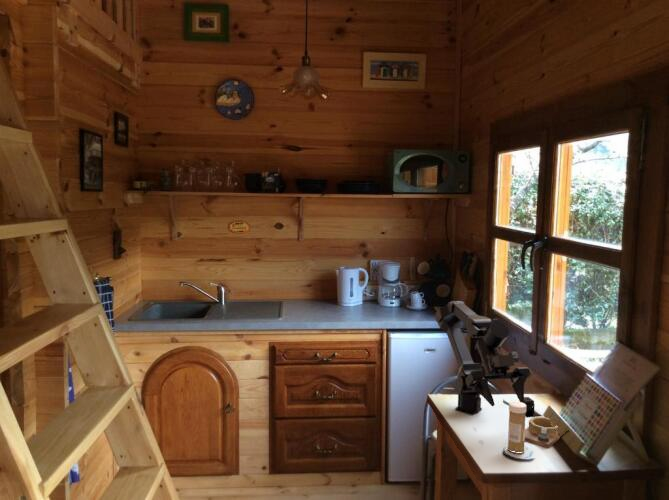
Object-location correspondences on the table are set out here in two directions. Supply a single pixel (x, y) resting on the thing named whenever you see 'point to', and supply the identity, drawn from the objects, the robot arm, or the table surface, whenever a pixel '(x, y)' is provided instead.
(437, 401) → the table surface
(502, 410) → the table surface
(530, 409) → the black angular block
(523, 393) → the robot arm
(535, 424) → the stand
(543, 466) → the table surface
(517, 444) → the sprinkles bottle
